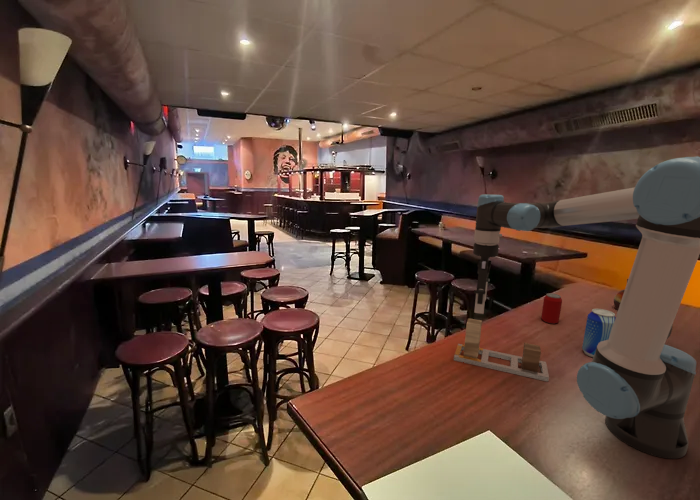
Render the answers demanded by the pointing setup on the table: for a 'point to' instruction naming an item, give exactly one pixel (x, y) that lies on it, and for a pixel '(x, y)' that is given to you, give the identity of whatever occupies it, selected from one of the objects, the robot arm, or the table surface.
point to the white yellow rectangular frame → (495, 366)
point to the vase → (618, 298)
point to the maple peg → (472, 338)
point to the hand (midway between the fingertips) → (480, 306)
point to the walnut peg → (531, 357)
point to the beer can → (597, 329)
